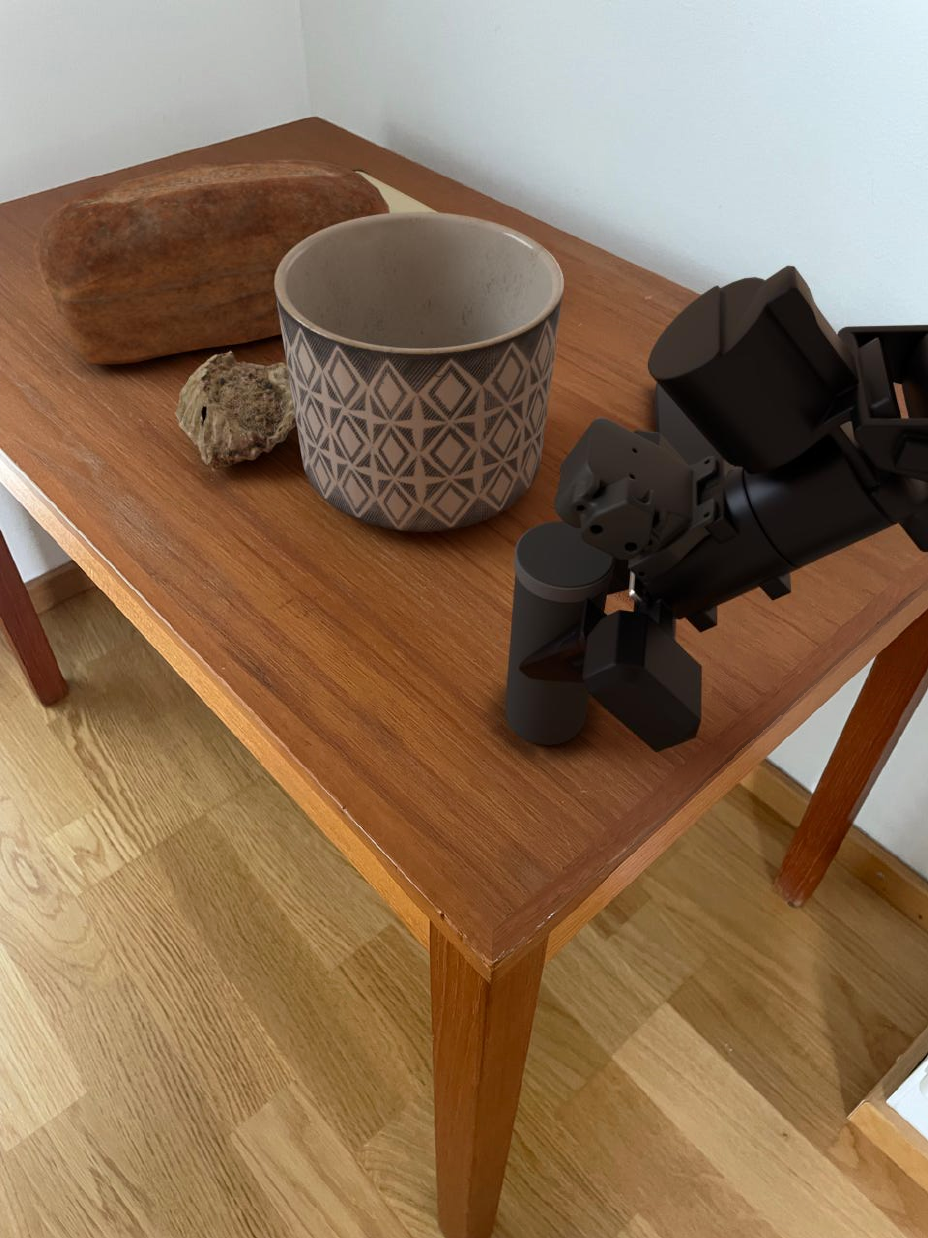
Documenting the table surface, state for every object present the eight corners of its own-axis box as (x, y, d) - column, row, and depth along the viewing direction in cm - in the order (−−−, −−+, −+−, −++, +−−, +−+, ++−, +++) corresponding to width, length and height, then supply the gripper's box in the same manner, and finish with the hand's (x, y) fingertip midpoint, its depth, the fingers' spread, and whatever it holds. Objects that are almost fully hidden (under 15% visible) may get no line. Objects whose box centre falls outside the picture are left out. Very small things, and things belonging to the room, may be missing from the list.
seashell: (199, 505, 77) (305, 473, 74) (142, 443, 72) (253, 406, 69) (229, 413, 84) (327, 379, 81) (179, 350, 79) (282, 312, 76)
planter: (285, 416, 81) (259, 223, 69) (505, 388, 84) (517, 200, 72) (319, 571, 68) (294, 368, 56) (576, 531, 72) (604, 332, 60)
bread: (408, 322, 92) (405, 178, 82) (73, 386, 83) (24, 234, 74) (368, 264, 99) (361, 126, 89) (57, 318, 91) (11, 172, 81)
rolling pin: (543, 310, 94) (547, 261, 90) (499, 328, 91) (502, 279, 88) (356, 195, 111) (353, 150, 107) (314, 208, 108) (310, 162, 105)
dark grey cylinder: (590, 686, 61) (618, 526, 51) (583, 752, 58) (611, 594, 48) (509, 674, 62) (522, 513, 52) (497, 739, 58) (508, 580, 48)
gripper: (680, 293, 49) (462, 446, 58) (668, 537, 36) (391, 682, 45) (798, 440, 53) (579, 559, 63) (824, 700, 41) (545, 801, 50)
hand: (530, 636), depth 55 cm, fingers closed on dark grey cylinder, 5 cm apart
